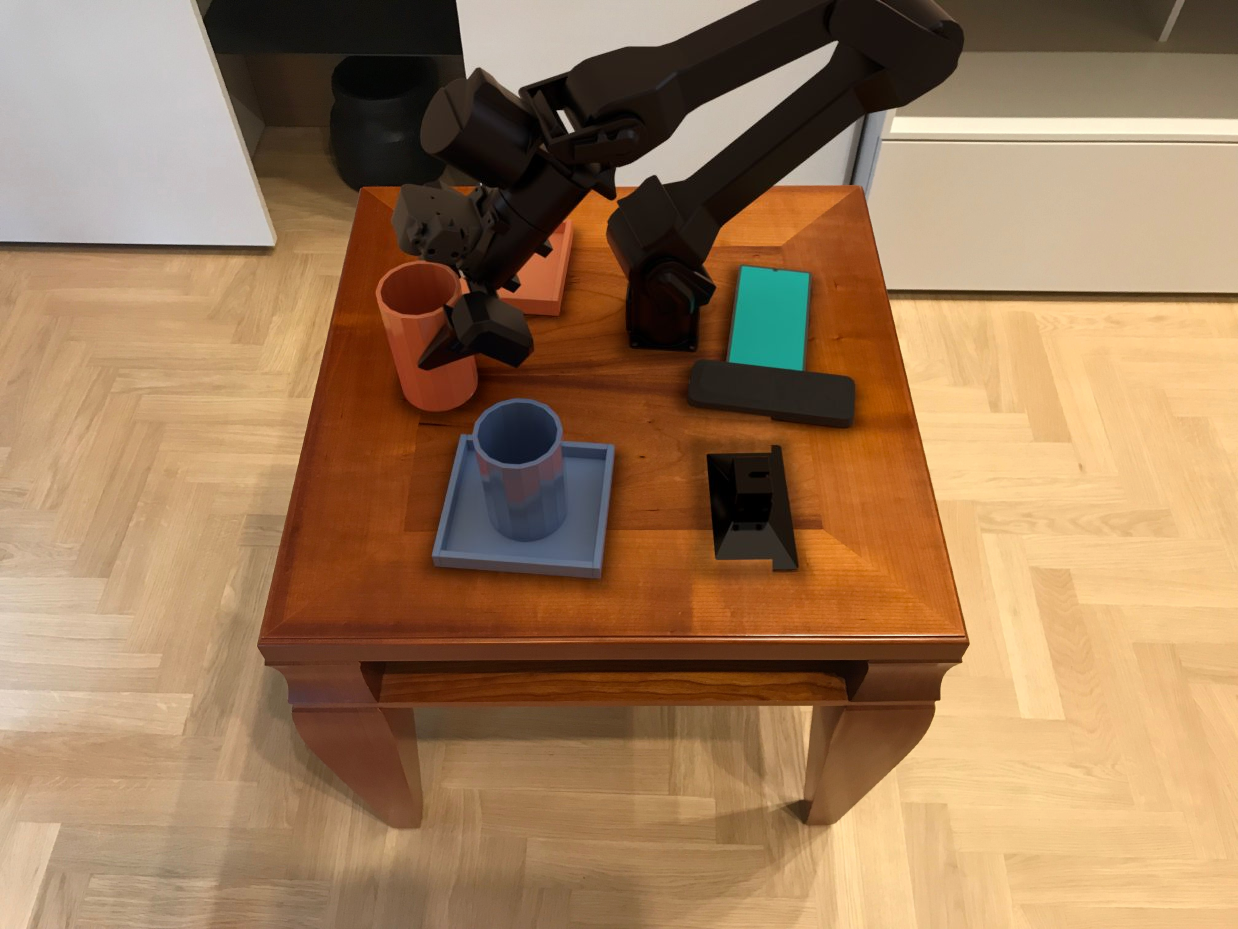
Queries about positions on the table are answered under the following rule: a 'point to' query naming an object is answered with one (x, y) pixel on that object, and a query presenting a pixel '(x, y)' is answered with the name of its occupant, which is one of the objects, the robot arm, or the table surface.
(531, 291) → the rust tray
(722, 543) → the black stand
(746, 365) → the remote control
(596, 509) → the blue tray
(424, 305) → the rust cup
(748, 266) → the smartphone
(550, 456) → the blue cup
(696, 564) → the table surface
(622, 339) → the table surface
